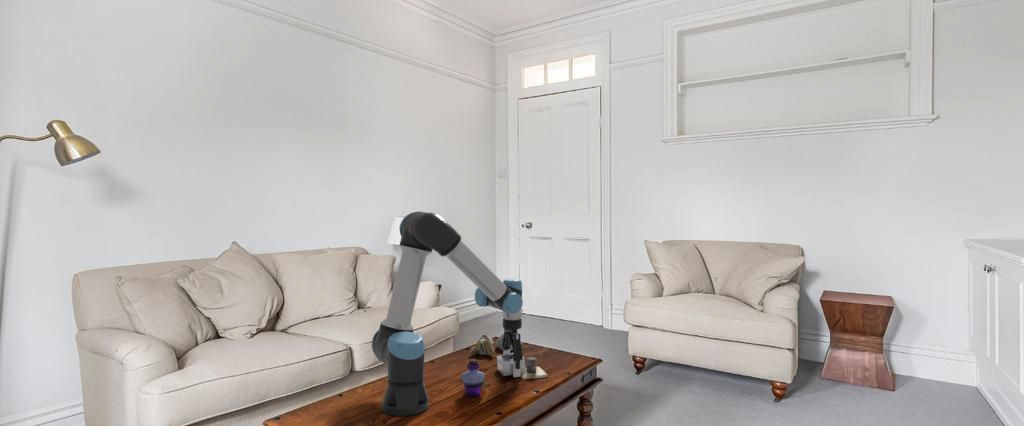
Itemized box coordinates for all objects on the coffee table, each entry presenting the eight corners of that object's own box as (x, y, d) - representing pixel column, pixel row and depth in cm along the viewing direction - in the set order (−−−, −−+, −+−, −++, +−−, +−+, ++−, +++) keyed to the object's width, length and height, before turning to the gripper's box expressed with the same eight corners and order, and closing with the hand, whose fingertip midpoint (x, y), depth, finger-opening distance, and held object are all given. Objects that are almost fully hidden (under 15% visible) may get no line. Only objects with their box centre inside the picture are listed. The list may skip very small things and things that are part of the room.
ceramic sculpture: (498, 330, 240) (492, 341, 226) (499, 349, 241) (492, 361, 226) (476, 329, 242) (468, 340, 227) (476, 348, 243) (468, 359, 228)
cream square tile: (523, 379, 202) (523, 363, 202) (515, 371, 211) (515, 356, 211) (547, 377, 205) (547, 361, 205) (538, 369, 214) (539, 354, 214)
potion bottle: (489, 396, 184) (489, 362, 184) (465, 400, 180) (466, 365, 180) (479, 388, 192) (479, 355, 191) (457, 391, 188) (457, 358, 187)
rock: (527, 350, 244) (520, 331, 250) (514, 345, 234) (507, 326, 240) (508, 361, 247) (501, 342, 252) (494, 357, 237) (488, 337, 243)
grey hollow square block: (503, 376, 204) (502, 362, 204) (497, 369, 213) (496, 356, 213) (525, 371, 207) (524, 357, 207) (519, 365, 215) (517, 352, 215)
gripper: (531, 324, 199) (530, 380, 199) (511, 310, 222) (511, 360, 223) (512, 325, 196) (511, 382, 197) (494, 311, 220) (494, 362, 221)
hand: (511, 371), depth 210 cm, fingers open, 13 cm apart
